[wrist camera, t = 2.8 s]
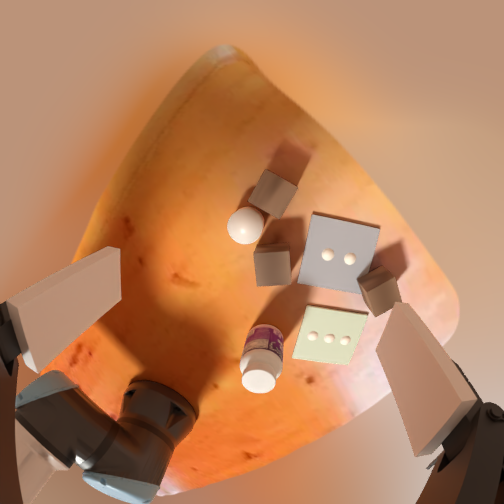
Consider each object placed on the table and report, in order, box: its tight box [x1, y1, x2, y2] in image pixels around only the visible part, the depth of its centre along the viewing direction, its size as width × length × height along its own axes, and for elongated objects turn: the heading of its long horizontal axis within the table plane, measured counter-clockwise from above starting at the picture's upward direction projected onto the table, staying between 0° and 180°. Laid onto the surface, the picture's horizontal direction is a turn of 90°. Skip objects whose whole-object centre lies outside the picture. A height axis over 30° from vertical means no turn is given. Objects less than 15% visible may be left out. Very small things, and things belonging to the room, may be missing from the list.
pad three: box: [292, 305, 368, 365], centre depth 37 cm, size 9×9×1 cm
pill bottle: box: [240, 324, 283, 393], centre depth 34 cm, size 5×5×10 cm
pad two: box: [297, 214, 380, 294], centre depth 34 cm, size 9×9×1 cm
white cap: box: [227, 207, 264, 244], centre depth 33 cm, size 4×4×3 cm
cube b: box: [248, 169, 298, 220], centre depth 31 cm, size 4×4×4 cm
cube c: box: [356, 266, 402, 317], centre depth 32 cm, size 4×4×4 cm
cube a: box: [254, 243, 291, 286], centre depth 33 cm, size 4×4×4 cm
